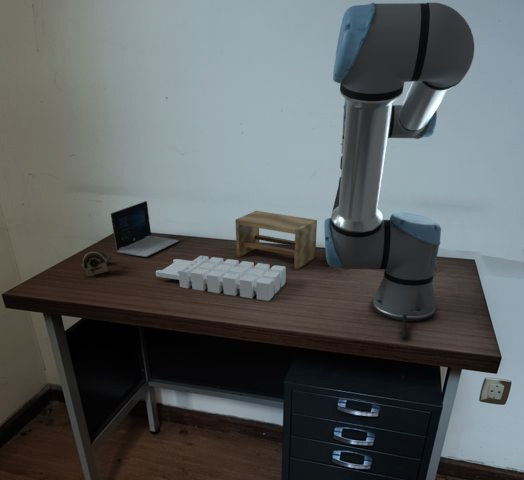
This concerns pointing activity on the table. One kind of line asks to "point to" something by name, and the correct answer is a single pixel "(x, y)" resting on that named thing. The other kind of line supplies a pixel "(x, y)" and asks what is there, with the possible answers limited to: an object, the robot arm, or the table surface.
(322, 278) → the table surface
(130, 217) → the laptop
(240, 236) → the two-tier rack
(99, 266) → the brown rounded piece
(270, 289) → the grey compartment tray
